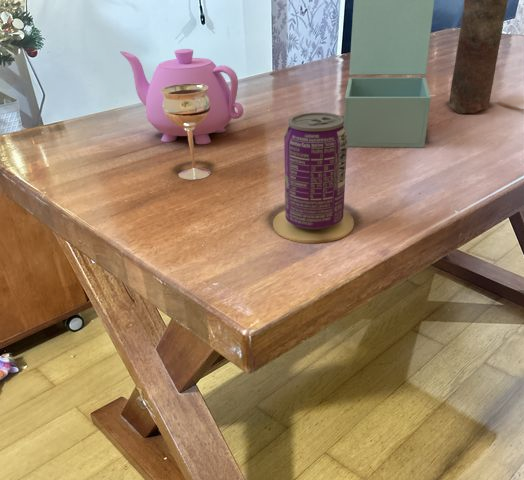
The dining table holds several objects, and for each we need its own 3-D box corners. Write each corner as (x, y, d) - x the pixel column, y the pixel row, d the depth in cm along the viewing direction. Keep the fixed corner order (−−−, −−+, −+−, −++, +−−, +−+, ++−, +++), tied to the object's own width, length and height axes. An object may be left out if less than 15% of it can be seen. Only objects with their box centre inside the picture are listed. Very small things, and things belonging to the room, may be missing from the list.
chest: (424, 147, 88) (431, 97, 83) (342, 146, 90) (344, 97, 85) (419, 122, 99) (425, 77, 94) (346, 122, 101) (349, 77, 96)
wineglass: (170, 168, 85) (158, 85, 77) (213, 163, 86) (205, 81, 78) (174, 184, 80) (162, 96, 72) (220, 178, 81) (212, 91, 73)
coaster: (331, 202, 72) (331, 200, 72) (368, 233, 65) (368, 230, 64) (261, 216, 70) (261, 213, 69) (291, 249, 62) (291, 246, 62)
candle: (441, 105, 107) (460, -16, 95) (477, 103, 108) (500, -19, 95) (456, 116, 101) (478, -13, 89) (494, 113, 102) (521, -15, 89)
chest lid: (437, -28, 88) (434, -22, 92) (355, -25, 90) (355, -19, 94) (426, 74, 94) (423, 76, 97) (349, 74, 96) (349, 76, 100)
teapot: (114, 144, 96) (96, 57, 88) (154, 119, 107) (142, 41, 99) (228, 152, 90) (221, 60, 81) (259, 125, 101) (255, 42, 93)
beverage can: (328, 205, 70) (332, 108, 63) (352, 228, 65) (359, 123, 58) (277, 215, 69) (275, 115, 61) (297, 238, 63) (297, 132, 56)
